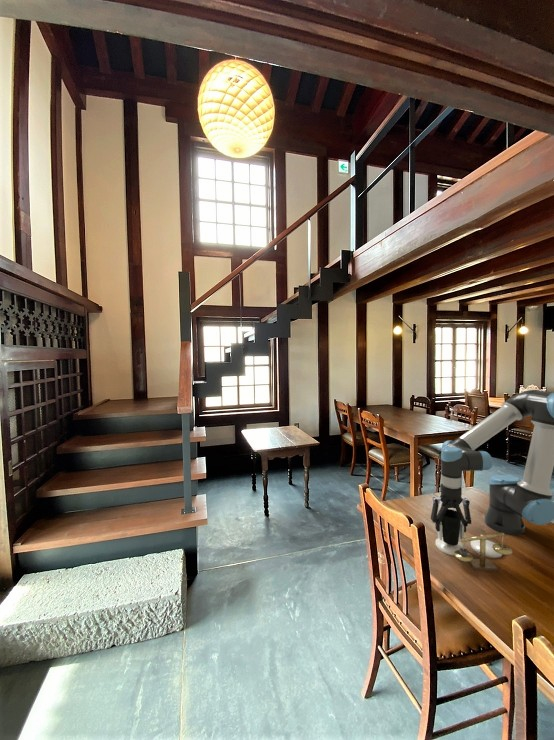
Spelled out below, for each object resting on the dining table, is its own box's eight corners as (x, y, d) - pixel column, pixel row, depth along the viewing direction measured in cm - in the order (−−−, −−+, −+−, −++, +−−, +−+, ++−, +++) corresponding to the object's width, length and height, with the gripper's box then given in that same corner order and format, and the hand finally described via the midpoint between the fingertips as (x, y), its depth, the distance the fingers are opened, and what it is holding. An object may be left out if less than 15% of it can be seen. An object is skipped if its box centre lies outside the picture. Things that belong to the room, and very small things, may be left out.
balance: (505, 562, 121) (506, 528, 120) (515, 573, 115) (516, 537, 114) (451, 559, 123) (451, 526, 122) (458, 570, 117) (459, 535, 116)
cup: (464, 547, 126) (464, 519, 125) (443, 546, 128) (443, 517, 127) (457, 536, 134) (457, 509, 133) (437, 535, 135) (437, 508, 134)
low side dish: (458, 540, 136) (458, 537, 135) (470, 556, 125) (470, 553, 125) (431, 539, 137) (431, 536, 137) (441, 555, 126) (441, 552, 126)
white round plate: (492, 541, 134) (492, 539, 134) (508, 558, 123) (508, 555, 123) (465, 540, 135) (465, 537, 135) (478, 557, 124) (479, 554, 124)
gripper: (473, 482, 132) (472, 534, 133) (421, 480, 134) (421, 532, 135) (482, 489, 124) (481, 545, 126) (428, 488, 127) (427, 543, 128)
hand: (450, 538), depth 130 cm, fingers closed on cup, 8 cm apart
